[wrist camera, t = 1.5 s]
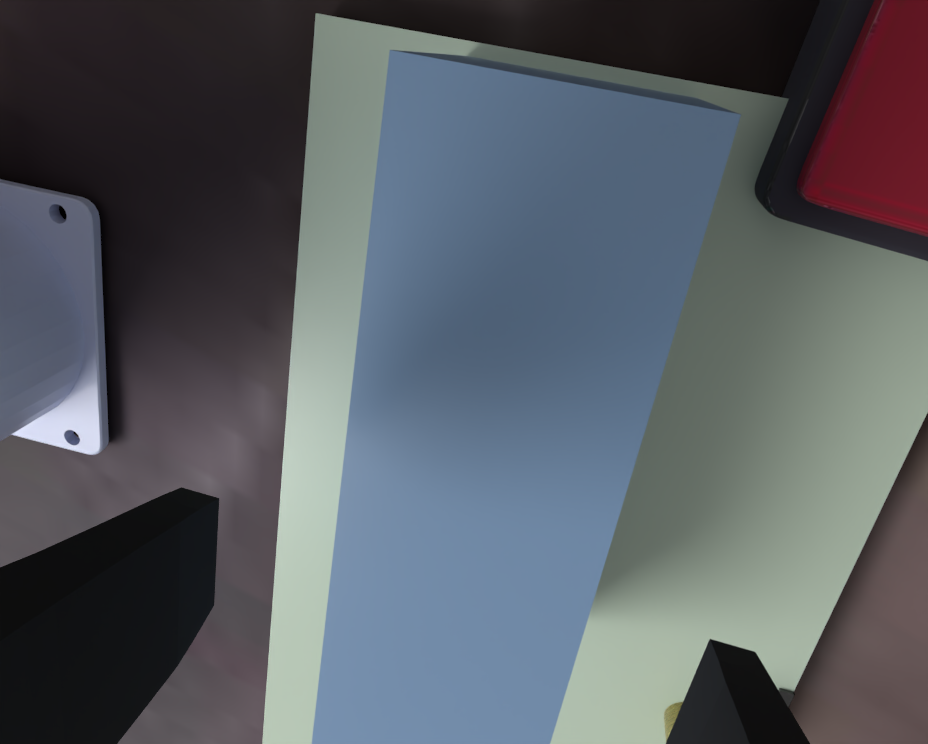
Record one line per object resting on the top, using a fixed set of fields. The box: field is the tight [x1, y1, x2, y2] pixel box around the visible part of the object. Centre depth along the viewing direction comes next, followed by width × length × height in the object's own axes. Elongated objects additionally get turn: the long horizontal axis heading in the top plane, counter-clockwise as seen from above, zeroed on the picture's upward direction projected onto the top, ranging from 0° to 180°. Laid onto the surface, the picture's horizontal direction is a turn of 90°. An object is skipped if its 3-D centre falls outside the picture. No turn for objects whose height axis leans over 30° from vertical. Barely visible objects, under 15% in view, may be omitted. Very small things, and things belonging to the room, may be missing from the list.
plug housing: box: [312, 50, 741, 744], centre depth 16 cm, size 5×14×6 cm, turn 170°
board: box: [262, 13, 928, 744], centre depth 22 cm, size 16×30×1 cm, turn 170°
